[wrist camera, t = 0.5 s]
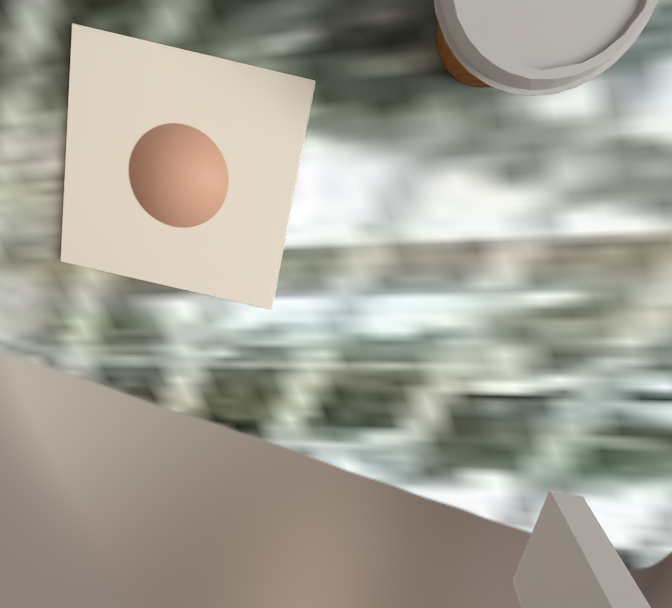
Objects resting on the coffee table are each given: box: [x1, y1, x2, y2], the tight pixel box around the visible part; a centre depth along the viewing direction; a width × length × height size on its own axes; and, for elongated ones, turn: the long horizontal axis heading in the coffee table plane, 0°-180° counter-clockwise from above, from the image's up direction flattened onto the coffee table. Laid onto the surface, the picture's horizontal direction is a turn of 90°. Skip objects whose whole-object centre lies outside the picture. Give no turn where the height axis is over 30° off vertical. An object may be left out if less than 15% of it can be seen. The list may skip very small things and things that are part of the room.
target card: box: [61, 23, 316, 309], centre depth 34 cm, size 16×16×1 cm
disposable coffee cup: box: [434, 0, 658, 96], centre depth 25 cm, size 10×10×12 cm
